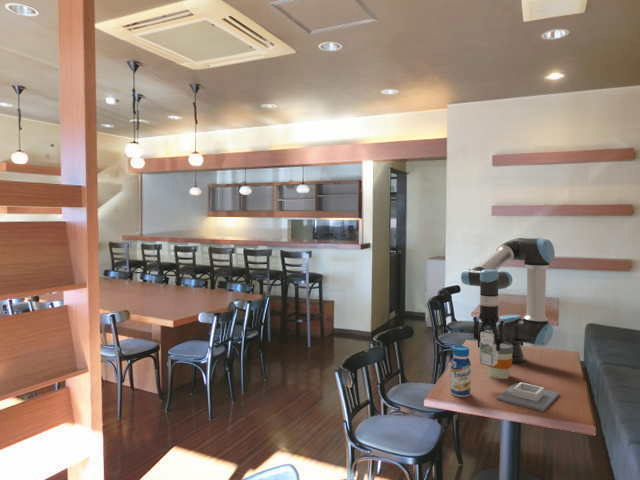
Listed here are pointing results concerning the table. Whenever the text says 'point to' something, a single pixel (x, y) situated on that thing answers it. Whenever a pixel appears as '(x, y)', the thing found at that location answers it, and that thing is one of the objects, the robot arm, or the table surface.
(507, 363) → the reusable coffee cup
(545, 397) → the keeper board
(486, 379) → the table surface
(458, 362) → the beverage bottle
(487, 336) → the syrup box
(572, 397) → the table surface
